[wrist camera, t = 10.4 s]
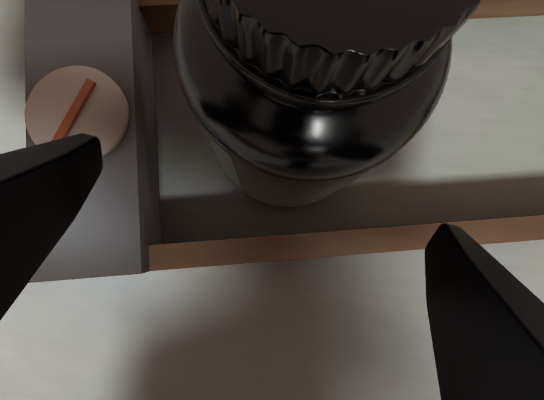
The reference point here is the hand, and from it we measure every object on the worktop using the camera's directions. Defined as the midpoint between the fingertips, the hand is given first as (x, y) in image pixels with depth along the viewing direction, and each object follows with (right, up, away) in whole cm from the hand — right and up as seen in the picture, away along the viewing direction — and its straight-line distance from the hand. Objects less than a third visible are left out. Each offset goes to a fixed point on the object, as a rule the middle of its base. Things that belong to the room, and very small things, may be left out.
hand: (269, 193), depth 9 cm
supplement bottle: (+1, +3, +8) cm, 8 cm away
